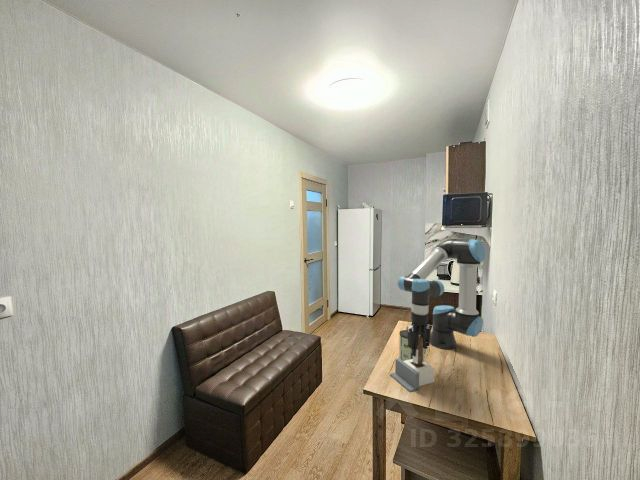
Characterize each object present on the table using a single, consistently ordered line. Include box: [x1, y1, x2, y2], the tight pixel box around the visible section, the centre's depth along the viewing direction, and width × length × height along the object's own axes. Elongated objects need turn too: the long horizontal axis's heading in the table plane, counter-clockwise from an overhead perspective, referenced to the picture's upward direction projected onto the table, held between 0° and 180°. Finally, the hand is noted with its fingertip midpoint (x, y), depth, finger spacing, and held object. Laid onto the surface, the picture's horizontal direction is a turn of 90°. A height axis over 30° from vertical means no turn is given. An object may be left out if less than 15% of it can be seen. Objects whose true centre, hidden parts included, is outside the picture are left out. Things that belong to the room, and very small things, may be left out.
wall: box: [389, 357, 420, 393], centre depth 124 cm, size 5×14×8 cm, turn 21°
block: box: [403, 359, 435, 387], centre depth 127 cm, size 10×10×7 cm
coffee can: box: [398, 329, 420, 361], centre depth 146 cm, size 10×10×14 cm
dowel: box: [415, 336, 423, 368], centre depth 126 cm, size 3×3×16 cm
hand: (418, 361), depth 127 cm, fingers closed on dowel, 3 cm apart
